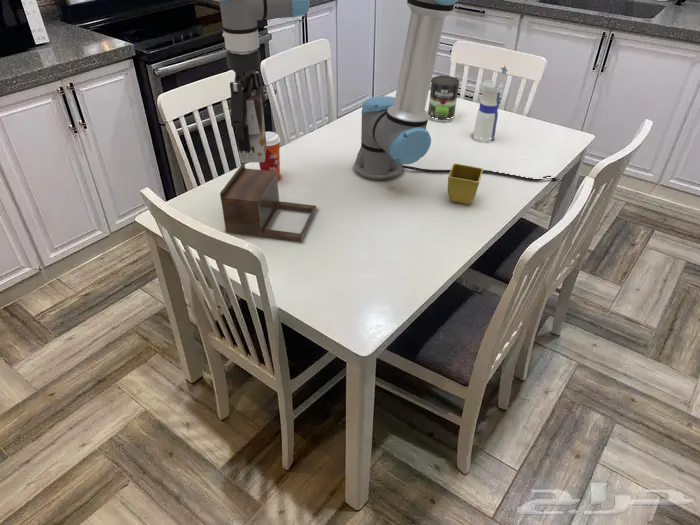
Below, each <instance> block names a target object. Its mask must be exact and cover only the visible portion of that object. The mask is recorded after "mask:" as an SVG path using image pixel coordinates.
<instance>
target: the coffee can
mask: <svg viewBox="0 0 700 525" xmlns="http://www.w3.org/2000/svg"><path fill="white" fill-rule="evenodd" d="M459 85H460V79H459V78H457V77H454V76H450V75H437V76H436V75H435V76H434V77H433V76H432V79H431V83H430V91H429V92H430V93H429V100H428V101H429V102H428V110H427V114H429V115H430V116H429V115H428V119H430V120H431V121H434V122H440V123H446V122H451V121H453V120H455V113H456V107H457V100H458V93H459ZM453 116H454V117H453ZM432 117H434V118H432ZM451 117H453V118H451ZM435 118H438V119H435ZM447 118H450V119H447Z"/></svg>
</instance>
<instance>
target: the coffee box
mask: <svg viewBox="0 0 700 525" xmlns="http://www.w3.org/2000/svg"><path fill="white" fill-rule="evenodd" d="M243 93H245V92H243ZM243 101H244V100H243ZM246 102H247V119H246V125H248V130H249V139H250V149H251V151H250V152H248V151H239V150H238V155H239V163H240V164H249V163H251V164H252V163H259V162H265V155H266V135H265V132H266V126H265V116H264V114H265V113H264V107H263V102H264V101H263V102H262V91H261V86H258V88H257V89H256V90H255V89H251V96H250V97H249V98H247V100H246ZM235 131H236V133H237V130H236V129H235ZM236 139H237V141H238V138H237V137H236ZM237 148H238V149H239V146H238V145H237Z"/></svg>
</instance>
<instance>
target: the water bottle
mask: <svg viewBox="0 0 700 525" xmlns="http://www.w3.org/2000/svg"><path fill="white" fill-rule="evenodd" d="M500 69H501V73H500V74H501V75H504V76H507V72H508V71H509V69H508V68H507V67H506V65H504V66H503V67H500ZM478 89H479V90H480V91H482V94H481V98H479V108H478V110H477V113H476V118H475V123H474V129H473V131H472V138H473V139H474V140H475V141H477V142H480V143H481V142H482V143H491V142H493V141H494V140H495V137H496V129H497V124H498V118H499V106H500V104H501V100H500V96H501V94H503V93H504V83H503V82H501V83H500V84H499V86H498V87H494V81H493V80H492V79H486V80H483V81H482V82H481V83H480V84H479V86H478ZM473 134H474V135H473ZM475 136H476V137H475ZM494 136H495V137H494ZM477 137H478V138H477ZM493 137H494V138H493ZM480 138H482V139H480ZM489 138H492V139H489Z"/></svg>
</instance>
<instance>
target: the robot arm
mask: <svg viewBox="0 0 700 525" xmlns="http://www.w3.org/2000/svg"><path fill="white" fill-rule="evenodd" d="M459 1H460V0H406V5H407V6H408V8H409V9H410V17H409V22H408V27H407V34H406V40H405V44H404V49H403V55H402V60H401V65H400V71H399V75H398V80H397V81H398V82H397V85H396V86H397V87H396V93H395V97H394V96H389V95H387V96H386V95H382V96H374V97H369V98H367V99H365V100H364V101H363V102H362V105H361V129H360V130H361V132H360V133H361V137H360V139H361V142H360V147H359V150H358V152H357V155H356V158H355V161H354V170H355V172H356V174H358V175H359V176H360V177H362V178H365V179H368V180H372V181H388V180H392V179H395V178H397V177H399V176H400V175H401V174H402V172H403V169H407V170H412V171H417V172H424V173H425V172H426V173H450V171H451V169H429V168H421V167H415V166H410V165H411V164H414V163H416V162H418V161H419V160H421V159H422V158H423V157H425V155H426V154H427V153H428V151H429V150H430V148H431V143H432V138H431V135H430V132H429V131H428V130H427V125H428V123H429V122H428V121H429V117H428V112H427V111H426V106H427V102H428V96H429V92H430V89H431V84H432V82H431V80H432V78H433V74H434V69H435V65H436V60H437V56H438V50H439V46H440V44H441V43H440V42H441V37H442V34H443V30H444V29H443V28H444V24H445V19H446V17H447V16H449V15H450V14H451V13H453V12H454V8H455V4H456V3H457V2H459ZM310 6H311V0H219V8H220V14H221V22H222V30H223V31H222V37H223V38H224V47H225V49H226V52H225V56H226V64H227V68H228V69H229V70H231V71H233V72H234V81H230V83H229V90H230V118H231V119H230V125H231V127H233V128H235V131H236V130H237V132H236V139H237V138H238V140H237V147H238V146H239V148H238V152H239V151H248V152H250V151H251V149H250V139H249V130H248V125H246V119H247V102H246V100H247V98H249V97H250V96H251V89H255V90H256V89H257V88H258V86H261V91H262V102H263V108H264V107H267V102H266V95H265V90H264V85H263V80H262V75H261V66H262V65H261V64H262V62H261V51H260V50H259V48H260V38H259V27H258V21H264V20H274V19H286V18H288V19H289V18H293V19H294V18H297V17H302V16H306V15H307V14H308V12H309V10H310ZM243 92H245V93H243ZM243 100H244V101H243ZM493 171H494V170H489V169H488V170H487V169H483V172H482V174H483V173H485V174H492V175H499V176H504V177H510V178H514V179H521V180H525V181H532V182H538V181H539V182H540V181H543V180H547V179H548V178H546V177H551V176H552V175H544V176H542V177H543V178H546V179H533V178H534V177H528V178H526V177H527V176H523V177H521V176H522V175H518V176H516V175H517V174H513V175H510V174H511V173H507V174H505V173H506V172H502V173H499V172H500V171H496V172H493ZM553 177H554V178H550V179H551V180H552V181H554V182H556V181H557V178H556V177H555V176H553Z"/></svg>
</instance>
